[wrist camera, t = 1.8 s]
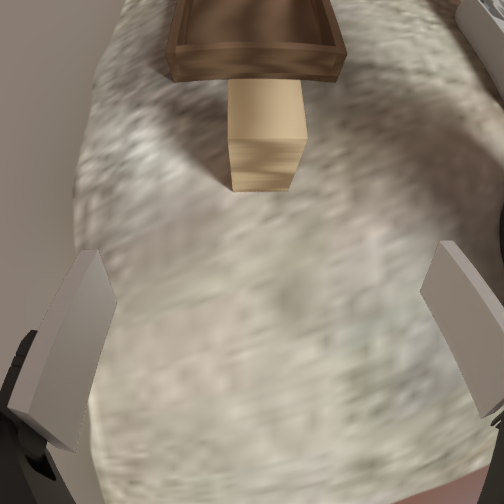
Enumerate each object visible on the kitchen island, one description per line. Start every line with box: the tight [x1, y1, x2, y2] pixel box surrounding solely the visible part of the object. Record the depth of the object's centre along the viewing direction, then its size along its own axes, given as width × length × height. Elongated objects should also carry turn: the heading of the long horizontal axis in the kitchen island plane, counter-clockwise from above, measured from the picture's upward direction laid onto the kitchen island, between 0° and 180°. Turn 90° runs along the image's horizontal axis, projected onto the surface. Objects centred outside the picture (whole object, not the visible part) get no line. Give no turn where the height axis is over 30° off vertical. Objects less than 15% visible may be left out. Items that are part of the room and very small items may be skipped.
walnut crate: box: [165, 0, 347, 83], centre depth 30 cm, size 18×22×5 cm
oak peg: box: [228, 79, 308, 192], centre depth 24 cm, size 5×5×10 cm
